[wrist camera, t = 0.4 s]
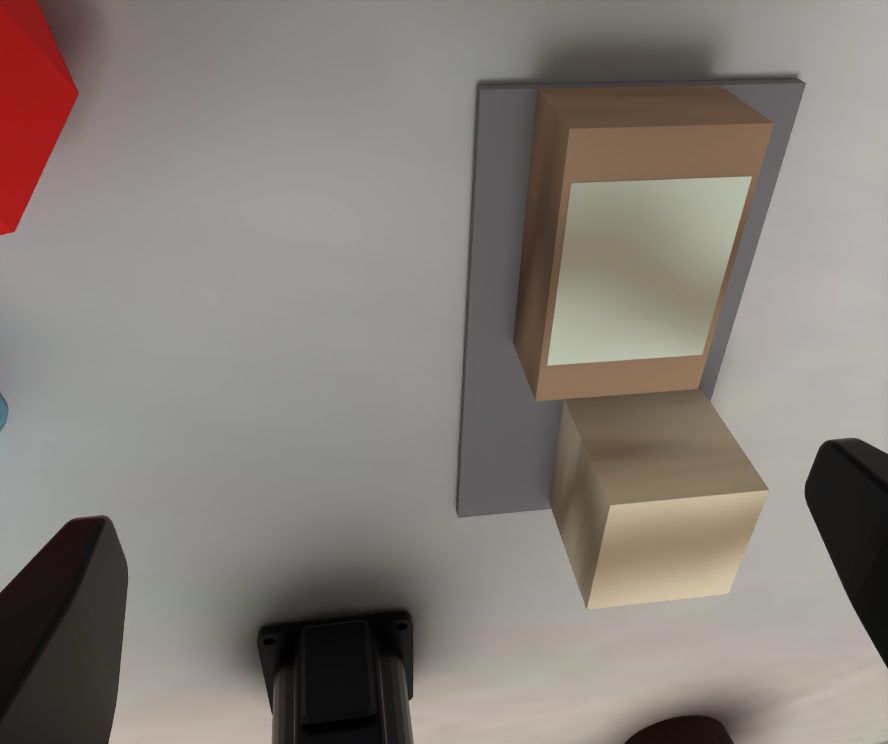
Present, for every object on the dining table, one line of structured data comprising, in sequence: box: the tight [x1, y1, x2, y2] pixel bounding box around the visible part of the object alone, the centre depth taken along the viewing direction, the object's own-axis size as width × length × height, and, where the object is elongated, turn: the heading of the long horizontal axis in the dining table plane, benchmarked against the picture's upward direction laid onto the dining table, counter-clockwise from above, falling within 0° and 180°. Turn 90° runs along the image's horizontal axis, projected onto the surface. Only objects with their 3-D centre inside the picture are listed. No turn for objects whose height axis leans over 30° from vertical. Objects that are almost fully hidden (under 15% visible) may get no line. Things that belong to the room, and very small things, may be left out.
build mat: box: [456, 79, 806, 518], centre depth 25 cm, size 16×9×1 cm, turn 179°
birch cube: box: [549, 388, 769, 610], centre depth 26 cm, size 5×5×5 cm
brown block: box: [513, 85, 774, 401], centre depth 21 cm, size 8×5×3 cm, turn 179°
